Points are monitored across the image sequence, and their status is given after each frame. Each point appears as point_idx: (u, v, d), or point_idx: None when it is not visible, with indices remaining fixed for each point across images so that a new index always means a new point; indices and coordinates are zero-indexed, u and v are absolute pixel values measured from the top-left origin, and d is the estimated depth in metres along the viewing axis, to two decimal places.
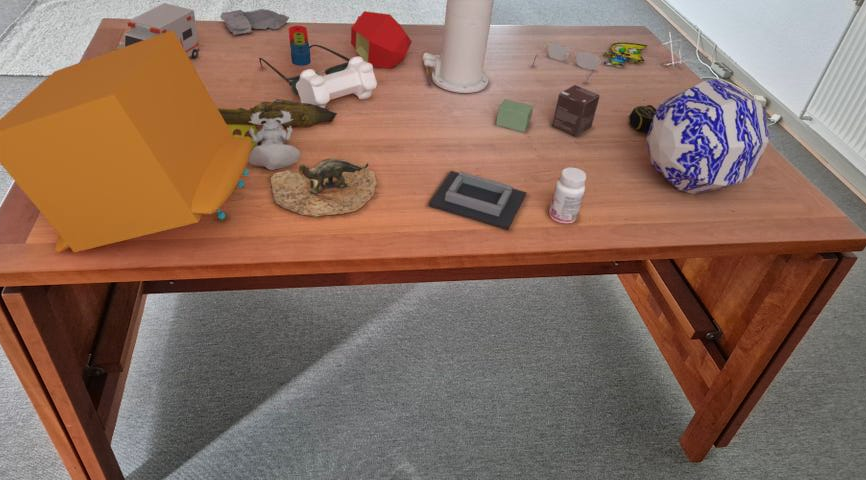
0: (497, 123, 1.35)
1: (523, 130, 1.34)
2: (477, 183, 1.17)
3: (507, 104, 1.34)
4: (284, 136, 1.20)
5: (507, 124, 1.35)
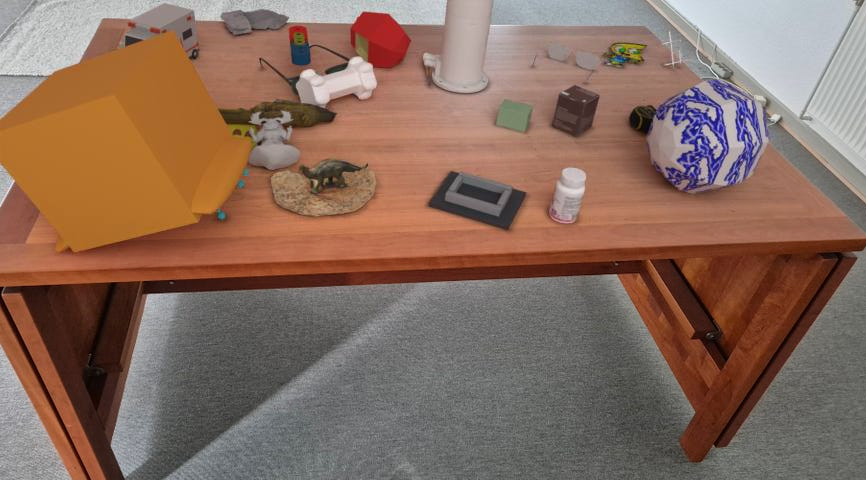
0: (497, 123, 1.35)
1: (523, 130, 1.34)
2: (477, 183, 1.17)
3: (507, 104, 1.34)
4: (284, 136, 1.20)
5: (507, 124, 1.35)
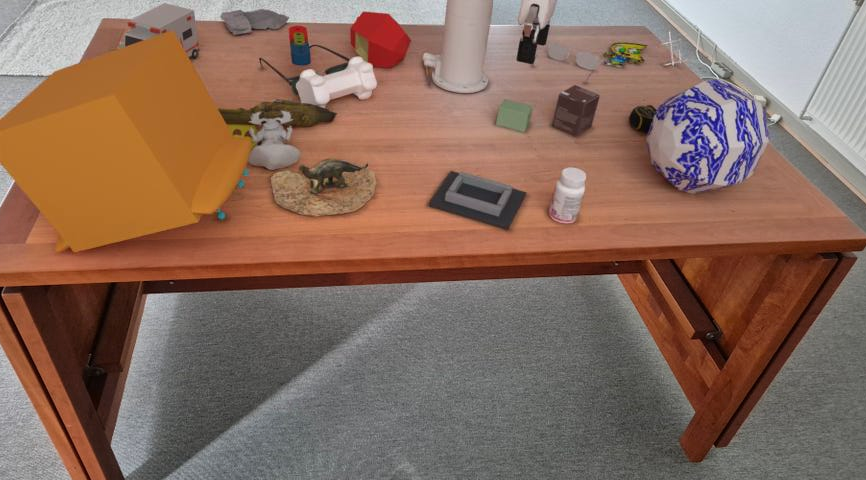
0: (497, 123, 1.35)
1: (523, 130, 1.34)
2: (477, 183, 1.17)
3: (507, 104, 1.34)
4: (284, 136, 1.20)
5: (507, 124, 1.35)
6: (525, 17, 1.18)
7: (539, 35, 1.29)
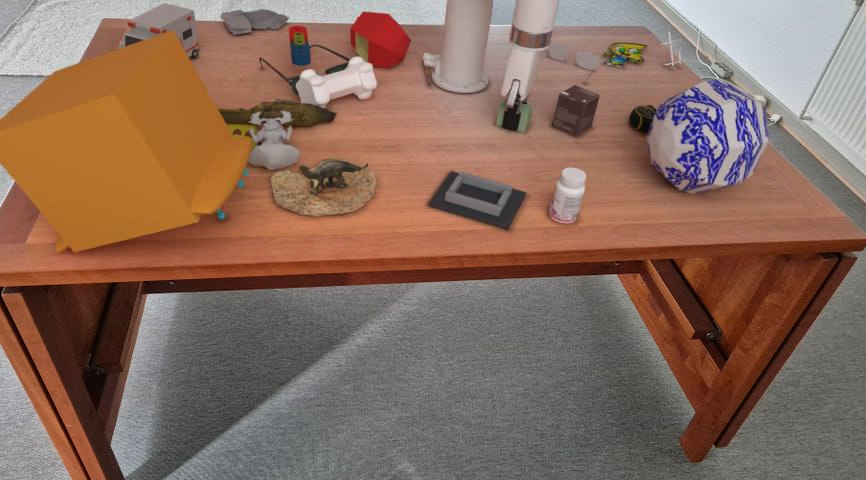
0: (497, 123, 1.35)
1: (523, 130, 1.34)
2: (477, 183, 1.17)
3: None
4: (284, 136, 1.20)
5: None
6: None
7: None
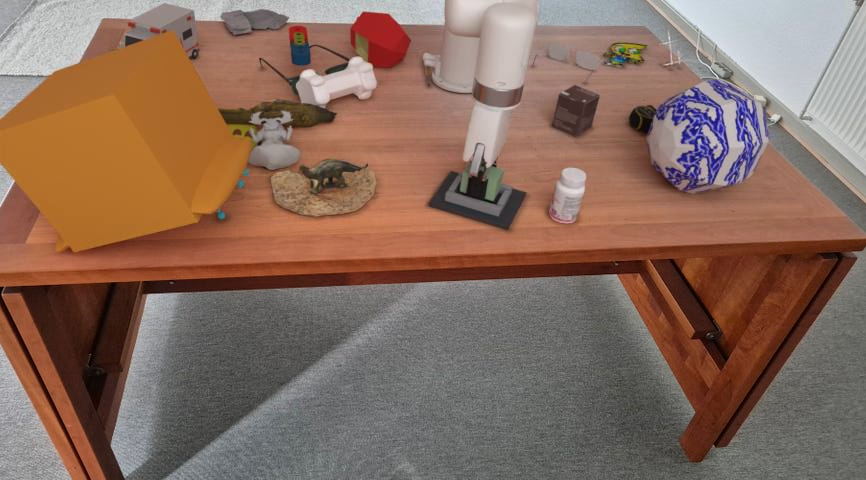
0: (461, 190, 1.13)
1: (492, 199, 1.12)
2: None
3: None
4: (284, 136, 1.20)
5: None
6: None
7: None
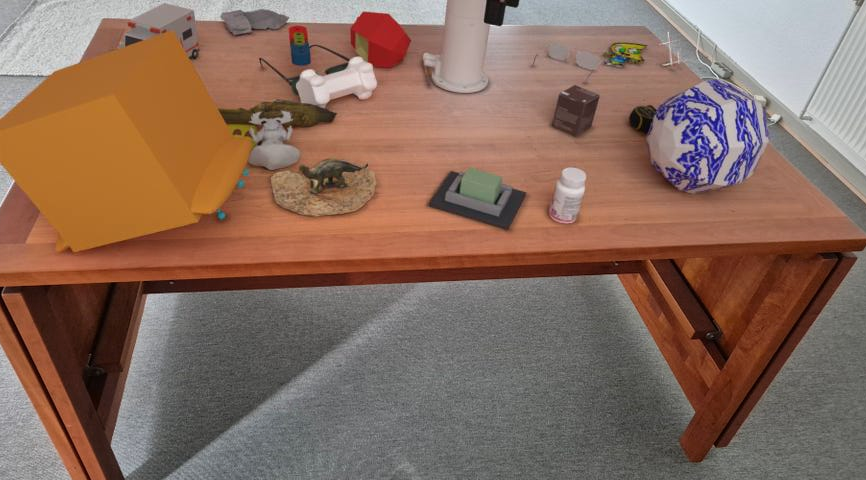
0: None
1: None
2: None
3: (471, 174, 1.13)
4: (284, 136, 1.20)
5: None
6: None
7: None
